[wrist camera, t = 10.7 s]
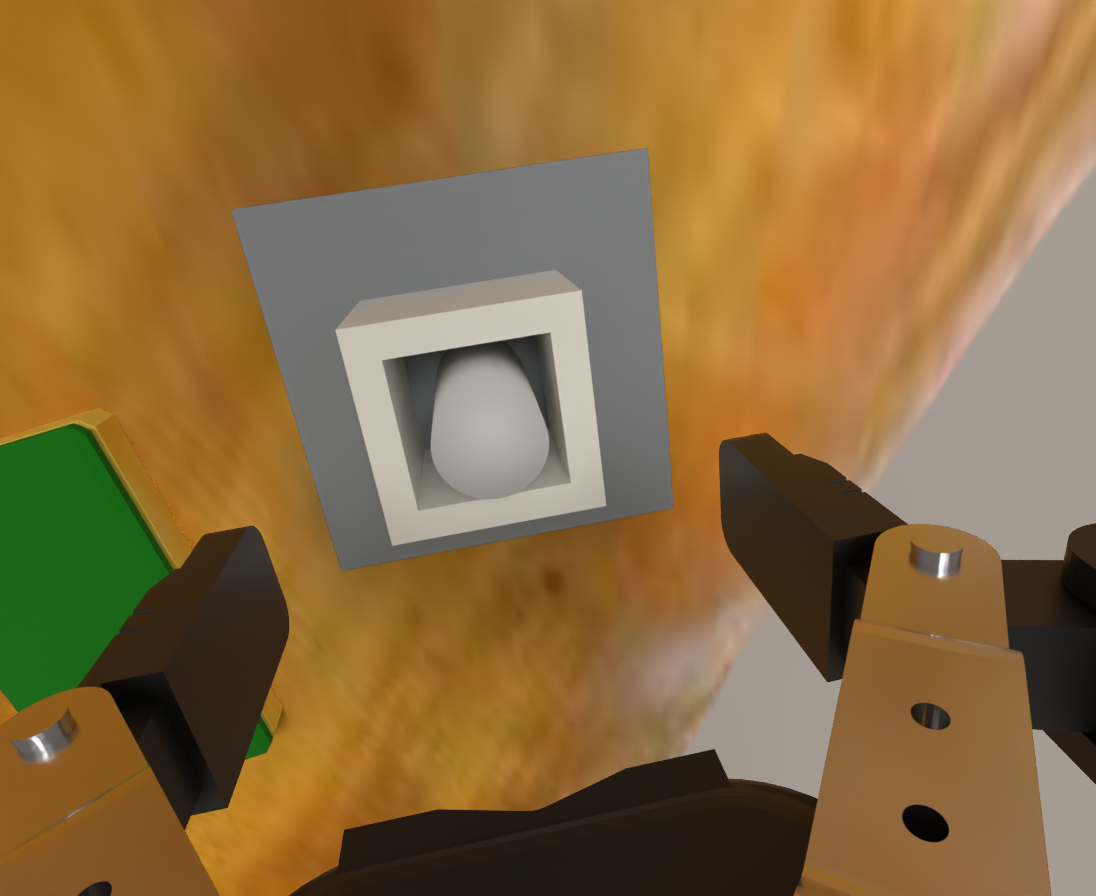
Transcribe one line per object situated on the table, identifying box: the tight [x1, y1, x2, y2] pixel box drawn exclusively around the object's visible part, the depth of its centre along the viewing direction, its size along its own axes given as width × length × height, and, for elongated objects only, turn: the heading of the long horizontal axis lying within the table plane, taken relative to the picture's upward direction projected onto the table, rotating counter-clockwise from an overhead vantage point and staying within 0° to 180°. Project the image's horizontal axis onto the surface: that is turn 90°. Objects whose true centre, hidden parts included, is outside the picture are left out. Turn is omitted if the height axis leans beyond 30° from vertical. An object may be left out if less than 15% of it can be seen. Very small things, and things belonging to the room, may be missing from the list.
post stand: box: [231, 148, 674, 571], centre depth 19 cm, size 12×12×8 cm
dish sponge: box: [0, 408, 283, 759], centre depth 23 cm, size 7×14×2 cm, turn 15°
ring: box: [335, 270, 606, 546], centre depth 19 cm, size 6×6×4 cm
